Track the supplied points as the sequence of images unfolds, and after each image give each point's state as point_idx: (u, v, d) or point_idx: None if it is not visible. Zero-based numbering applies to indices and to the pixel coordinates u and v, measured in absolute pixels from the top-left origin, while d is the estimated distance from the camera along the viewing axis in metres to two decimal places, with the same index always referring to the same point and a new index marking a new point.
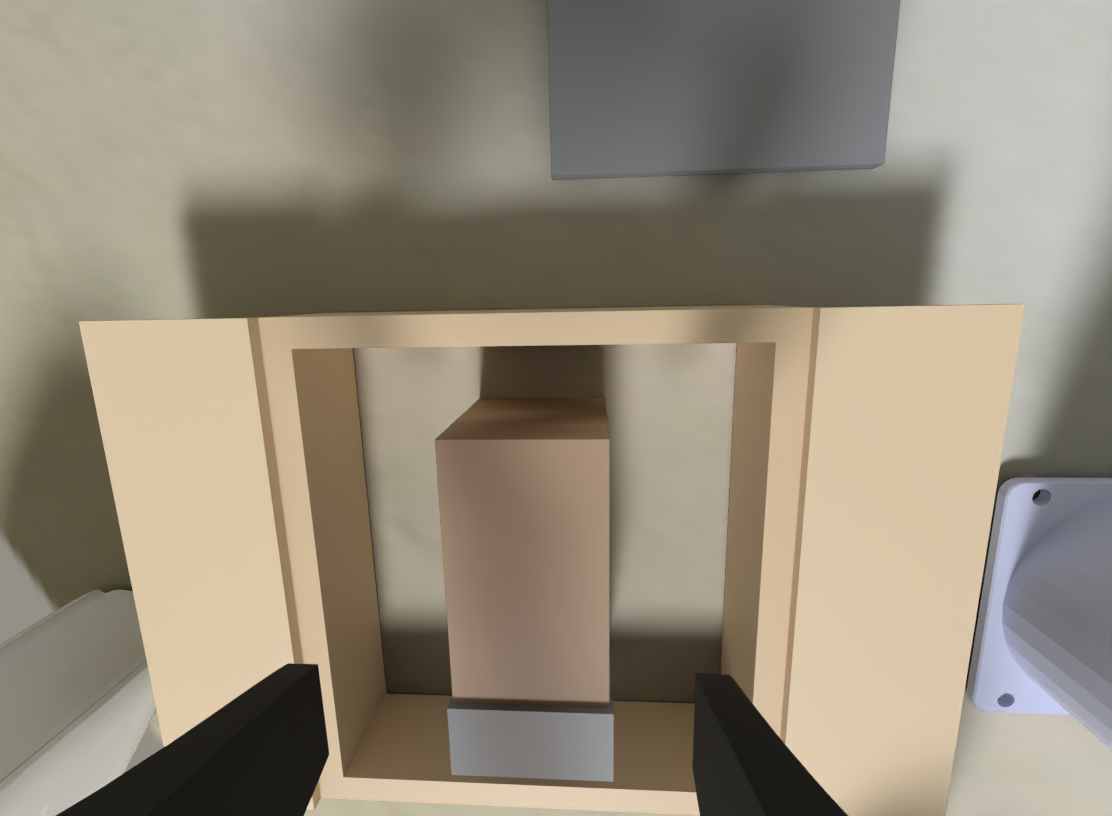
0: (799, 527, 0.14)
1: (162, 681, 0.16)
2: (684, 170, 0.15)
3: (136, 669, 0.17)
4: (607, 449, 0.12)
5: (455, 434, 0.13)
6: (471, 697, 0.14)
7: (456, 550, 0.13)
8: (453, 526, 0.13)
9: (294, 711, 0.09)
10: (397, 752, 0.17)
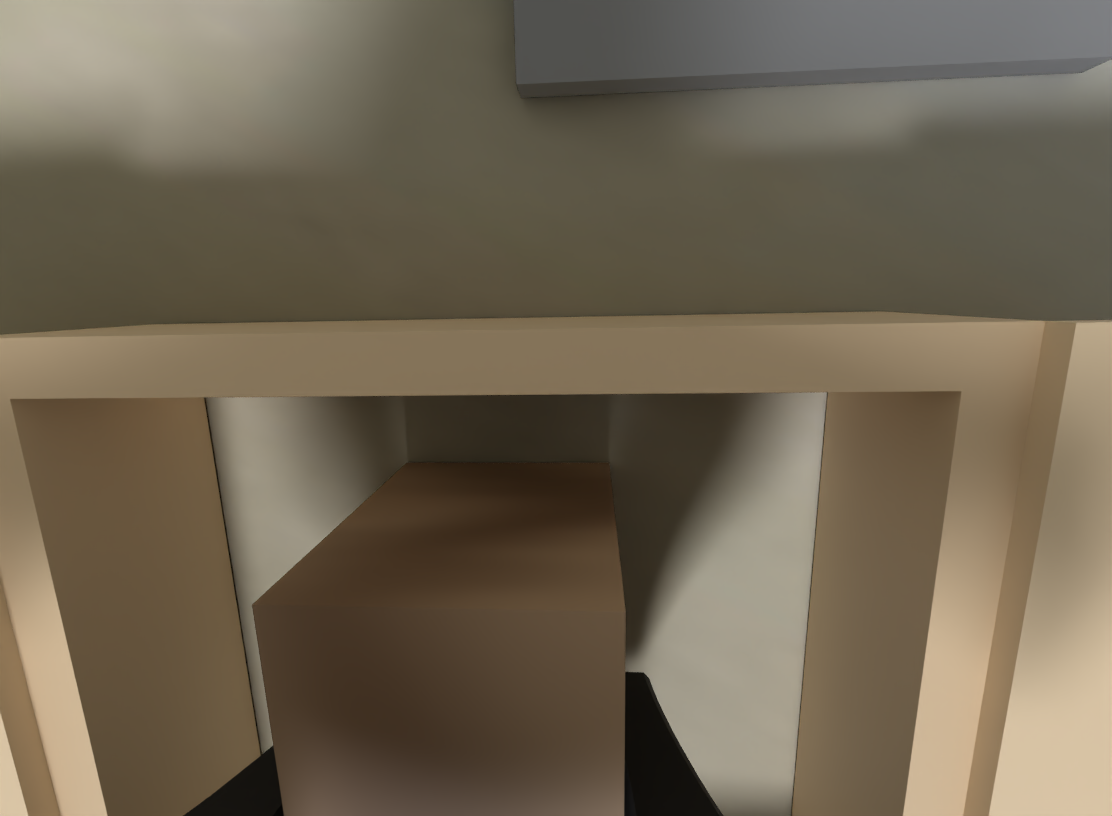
0: (986, 742, 0.07)
1: None
2: (752, 73, 0.08)
3: None
4: (621, 632, 0.06)
5: (309, 580, 0.06)
6: None
7: None
8: (303, 772, 0.06)
9: None
10: None
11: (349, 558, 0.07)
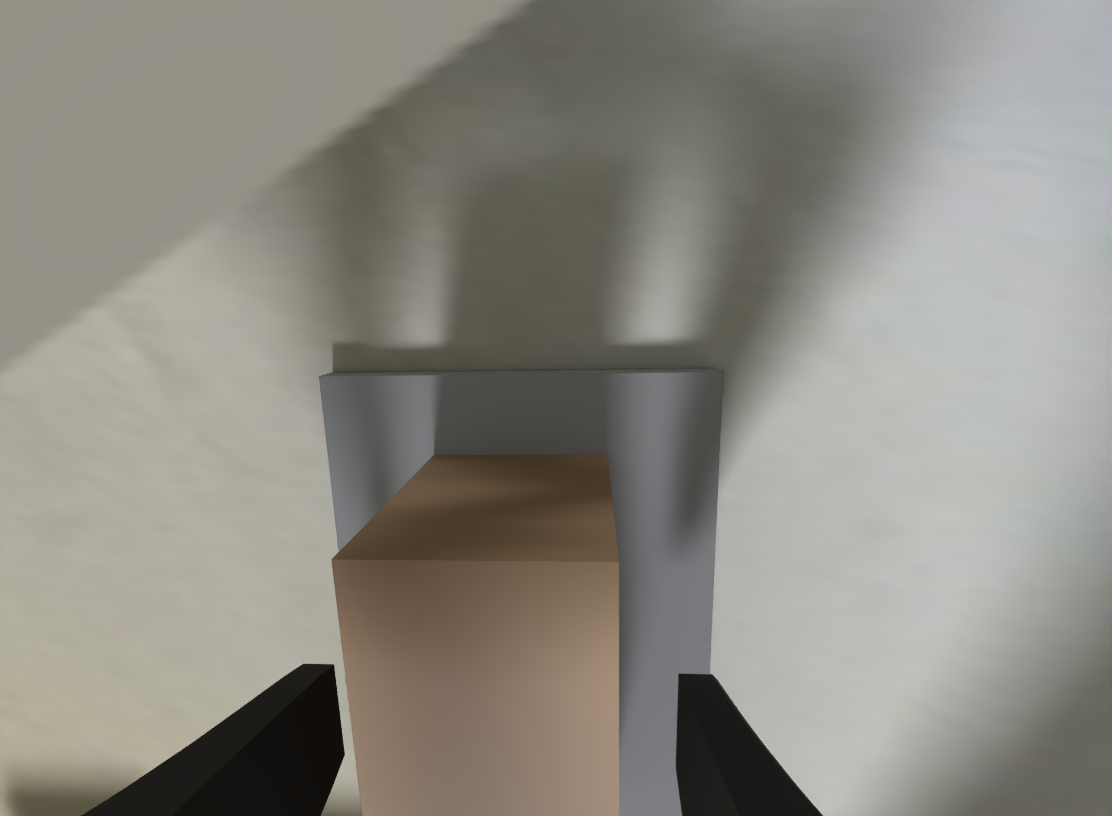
0: None
1: None
2: None
3: None
4: (615, 577, 0.07)
5: (370, 543, 0.08)
6: None
7: (373, 728, 0.08)
8: (367, 692, 0.08)
9: (311, 711, 0.09)
10: None
11: (399, 527, 0.09)
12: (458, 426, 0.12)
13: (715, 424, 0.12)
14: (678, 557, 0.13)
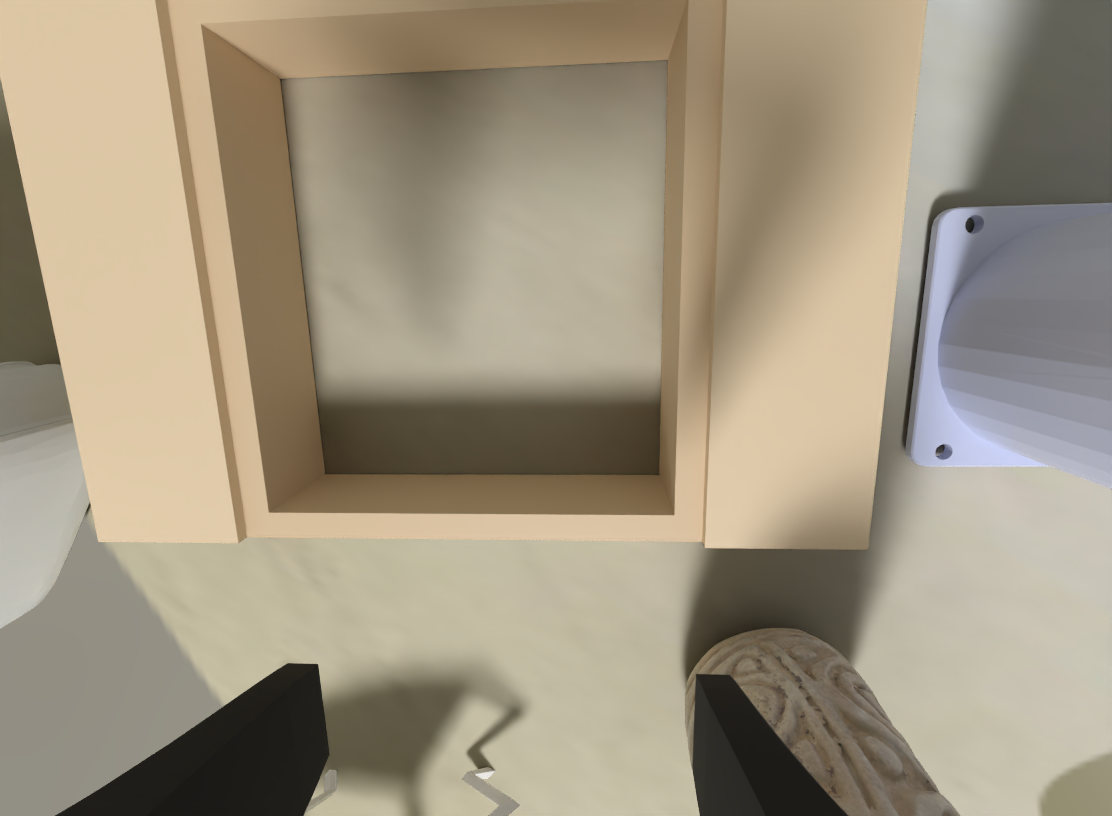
0: (716, 203, 0.13)
1: (80, 402, 0.15)
2: None
3: (62, 420, 0.17)
4: None
5: None
6: None
7: None
8: None
9: (294, 711, 0.09)
10: (327, 500, 0.17)
11: None
12: None
13: None
14: None
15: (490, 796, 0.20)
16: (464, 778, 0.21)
